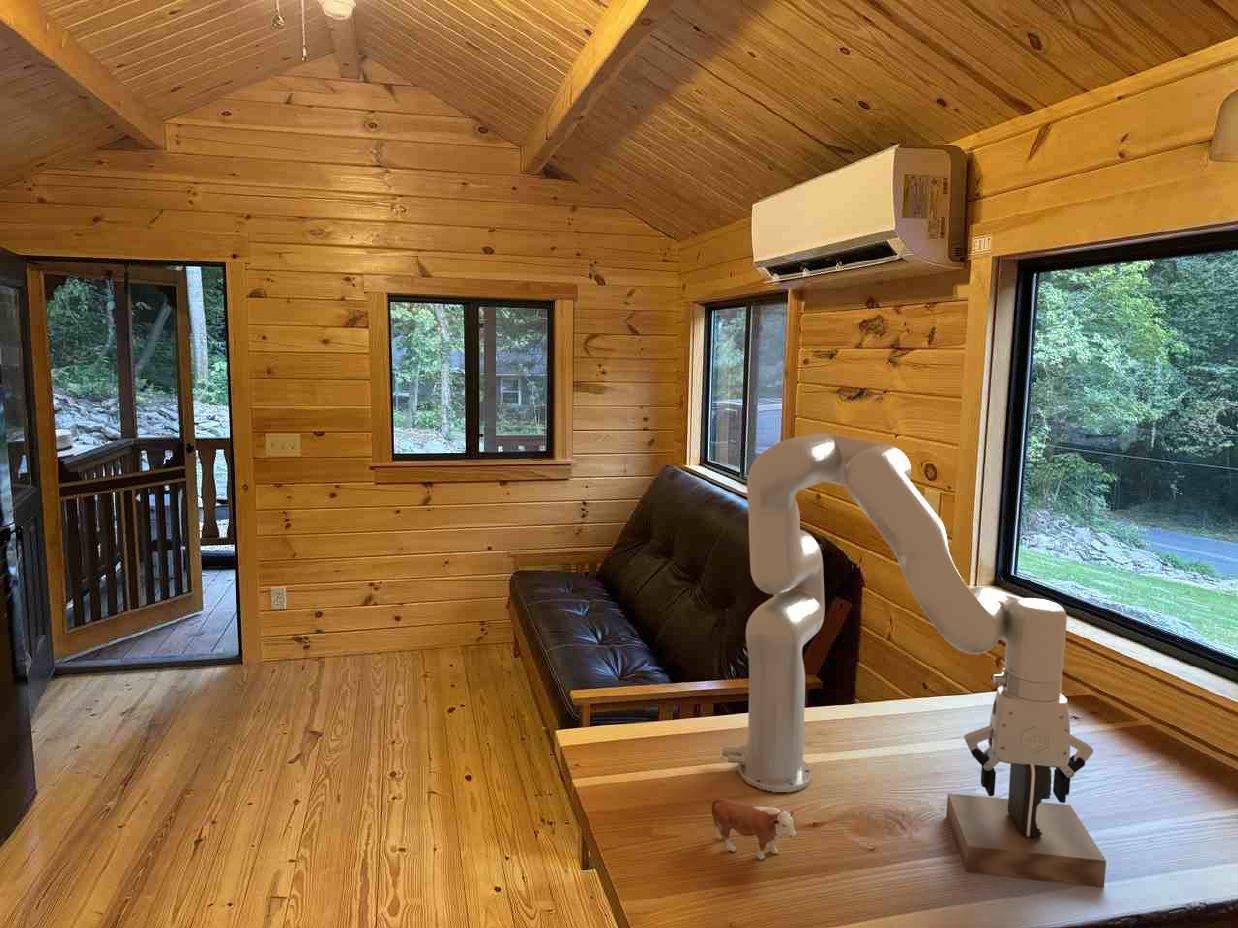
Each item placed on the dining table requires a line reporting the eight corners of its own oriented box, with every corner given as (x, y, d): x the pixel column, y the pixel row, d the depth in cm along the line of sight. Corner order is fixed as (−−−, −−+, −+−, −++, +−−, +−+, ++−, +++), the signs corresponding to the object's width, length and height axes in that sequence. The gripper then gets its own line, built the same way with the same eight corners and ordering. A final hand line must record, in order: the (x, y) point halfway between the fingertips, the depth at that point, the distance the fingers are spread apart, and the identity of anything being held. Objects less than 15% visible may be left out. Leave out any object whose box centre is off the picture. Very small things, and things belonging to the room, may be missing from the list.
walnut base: (966, 871, 116) (968, 845, 115) (946, 816, 129) (947, 793, 129) (1103, 887, 112) (1106, 860, 112) (1068, 828, 126) (1070, 804, 125)
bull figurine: (792, 875, 115) (793, 822, 114) (706, 845, 122) (707, 795, 121) (802, 859, 119) (804, 807, 117) (719, 830, 126) (719, 781, 125)
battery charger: (1049, 840, 116) (1056, 766, 115) (1021, 838, 117) (1027, 764, 115) (1032, 813, 123) (1038, 743, 121) (1005, 811, 124) (1011, 741, 122)
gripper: (974, 690, 115) (967, 802, 118) (1107, 700, 112) (1097, 815, 114) (962, 670, 122) (956, 775, 125) (1087, 678, 119) (1078, 786, 122)
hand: (1023, 794), depth 120 cm, fingers open, 9 cm apart
